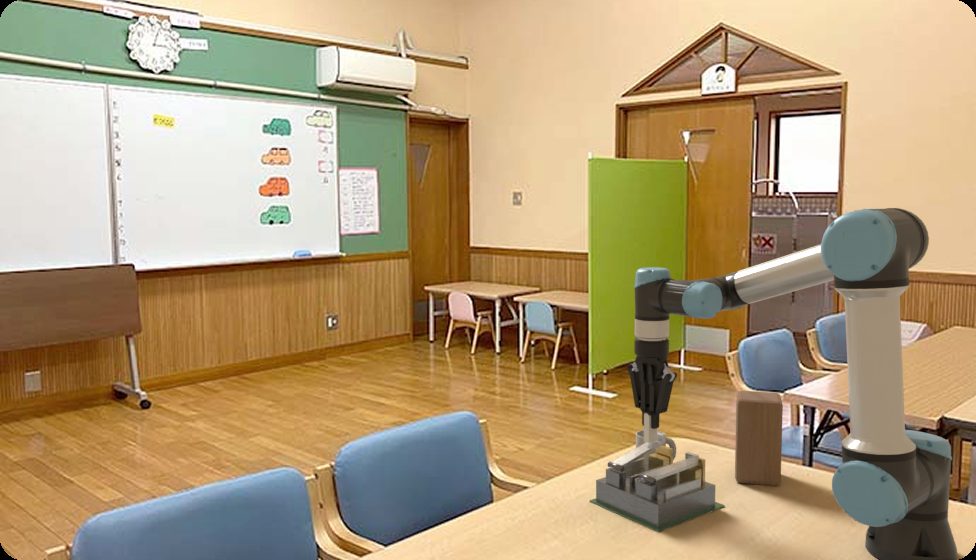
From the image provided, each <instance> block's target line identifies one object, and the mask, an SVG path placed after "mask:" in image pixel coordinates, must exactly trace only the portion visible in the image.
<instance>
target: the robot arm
mask: <svg viewBox="0 0 976 560" xmlns="http://www.w3.org/2000/svg"><path fill="white" fill-rule="evenodd" d="M929 237H930V236H929V232H928V229H927V226H926V225H925V223H924V221H923V220H922V219H921V218H920V217H919V216H918V215H916V214H914V213H913V212H911V211H909V210H906V209H903V208H901V207H900V208H899V207H887V208H862V209H857V210H856V209H855V210H853V211H849V212H846V213H844V214H841V215H840V216H838V217H837V218H836V219H834V220H833V221H832V222H831V223H830V224H829V225H828V227H827V228H826V229H825V231H824V233H823V236H822V238H821V243H820V244H816V245H814V246H811V247H808V248H804V249H802V250H798V251H795V252H793V253H789V254H787V255H782V256H780V257H778V258H777V257H776V258H774V259H771V260H767V261H765V262H762V263H759V264H758V263H757V264H756V265H753V266H749V267H746V268H744V269H740V270H737V271H734V272H731V273H728V274H724V275H720V276H715V277H709V278H701V279H694V280H693V279H692V280H691V279H690V280H688V279H687V280H686V279H685V280H684V279H675V278H672V276H671V271H670V269H669V268H665V267H660V266H659V267H658V266H656V267H655V266H652V267H651V266H650V267H649V266H648V267H641V268H638V269H637V270H636V272H635V282H634V287H633V289H634V312H635V313H634V336H635V338H634V339H633V341H634V346H633V347H634V350H633V352H634V354H635V356H636V357H635V359H634V362H633V363H630V364H627V365H626V369H627V372H628V373H629V378H630V379H629V380H630V383H631V388H632V394H633V395H632V396H633V401H634V407H635V408H636V409H637V408H638V409H639V410H640V411H641V419H642V420H641V424H642V425H641V426H643V430H644V442H646V443H651V442H655V441H657V430H658V429H659V427H660V414H663V413H667V412H668V409H669V404H670V399H671V395H672V390H673V387H674V382H675V381H676V379H677V377H678V374H677V372H675V371H674V372H672V370H671V369H670V368H669V362H668V356H669V354H670V340H669V338H668V337H669V336H670V315H677V316H683V317H690V318H694V319H706V320H707V319H713V318H715V317H716V315H717V314H719V312H724V311H732V310H737V309H742V308H743V307H745V306H748V305H750V304H754V303H757V302H760V301H761V302H762V301H765V300H768V299H771V298H776V297H779V296H782V295H787V294H789V293H793V292H796V291H801V290H804V289H807V288H811V287H815V286H818V285H822V284H825V283H829V282H832V281H834V282H833V284H834V290H835V291H836V292H837V293H838V294H839V295H841V297H843V299H844V314H845V315H844V318H845V338H846V339H845V341H846V359H847V381H848V382H847V384H848V386H847V387H848V403H849V404H848V405H849V406H848V407H849V428H850V433H849V434H847V436H846V437H845V438H844V439H842V441H841V457H842V459H841V462H842V463H841V464H840V465H839V467H838V468H837V469H836V470H835V472H834V474H833V476H832V479H831V488H832V492H833V497H834V499H835V501H836V503H837V504H838V506H839V507H840V509H841V510H842V511H844V512H845V513H846V514H847V516H848V517H849V518H851V519H853V520H854V521H856V522H858V523H860V524H862V525H865V526H868V528H867V530H866V533H865V540H864V541H865V544H864V545H865V549H866V550H867V551H868V553H869V554H871V556H873V557H874V558H876V559H877V560H958V558H957V557H958V548H957V544H956V541H955V538H954V535H953V532H952V528H951V525H950V522H949V500H950V485H951V483H950V482H951V468H952V466H951V465H952V460H953V456H952V446H951V444H950V442H949V441H948V440H947V439H945V438H943V437H942V436H938V435H936V434H932V433H928V432H923V431H917V430H912V429H911V430H910V429H906V421H905V419H906V418H905V397H904V395H905V394H904V393H905V392H904V371H903V370H904V369H903V368H904V367H903V347H902V346H903V345H902V324H901V323H902V322H901V300H900V299H901V298H900V297H901V296H902V295H903V293H904V292H905V291H907V290H908V289H909V288H910V274H909V273H910V271H909V270H910V269H912V268H913V267H915V266H917V265H918V264H919V263H920V262H921V260H922V259H923V258H924V257H925V255H926V253H927V251H928V248H929V243H930V238H929Z"/></svg>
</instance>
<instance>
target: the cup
mask: <svg viewBox="0 0 976 560" xmlns="http://www.w3.org/2000/svg"><path fill="white" fill-rule="evenodd" d="M657 432H660V433H664V434H665V439H666V440H665V444H663V446H666V444H667V445H668V447H669V448H672V449H673V461H674V460H675V459H676V456H677V445H676V443H675V440H673V438H671V437H668V436H667V434H666V432H663V431H662V430H658V429H657ZM666 436H667V437H666ZM644 443H646V442H644V429H642V430H638V431H636V432H635V449H636V448H637V447H639V446H641V445H643V444H644ZM666 447H667V446H666ZM653 453H656V449H655V450H653V451H651V452H650V453H648V454H646V455H645V456H643V457H642V458H644V459H645V465H646V464H648V463H649V455H650V454H653ZM640 459H641V458H640Z"/></svg>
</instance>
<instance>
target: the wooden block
mask: <svg viewBox="0 0 976 560" xmlns="http://www.w3.org/2000/svg"><path fill="white" fill-rule="evenodd" d="M735 398H736V399H735V400H736V403H735V404H736V406H735V407H736V408H735V411H736V412H735V443H734V444H735V445H734V447H735V450H734V453H735V455H734V457H735V458H734V474H735V475H734V476H735V477H734V479H735V481H736V482H737V483H742V484H751V485H752V484H753V485H763V486H774V487H777V486H780V485H781V482H782V481H781V480H782V478H781V476H782V451H783V449H782V448H783V447H782V446H783V444H782V443H783V411H784V409H783V408H784V406H783V405H784V404H783V401H782V397H781V395H780V393H778V392H771V391H770V392H769V391H754V390H753V391H751V390H739V391H737V393H736V397H735Z"/></svg>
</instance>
